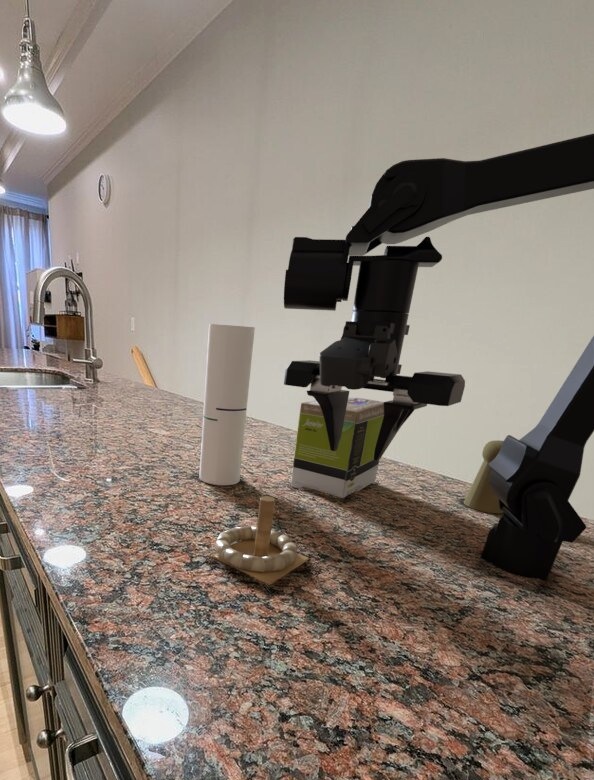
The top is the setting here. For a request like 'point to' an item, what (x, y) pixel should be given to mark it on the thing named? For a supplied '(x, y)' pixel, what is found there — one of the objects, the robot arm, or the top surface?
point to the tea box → (349, 461)
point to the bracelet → (255, 562)
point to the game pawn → (484, 483)
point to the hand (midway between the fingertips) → (354, 455)
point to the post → (263, 545)
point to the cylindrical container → (225, 402)
